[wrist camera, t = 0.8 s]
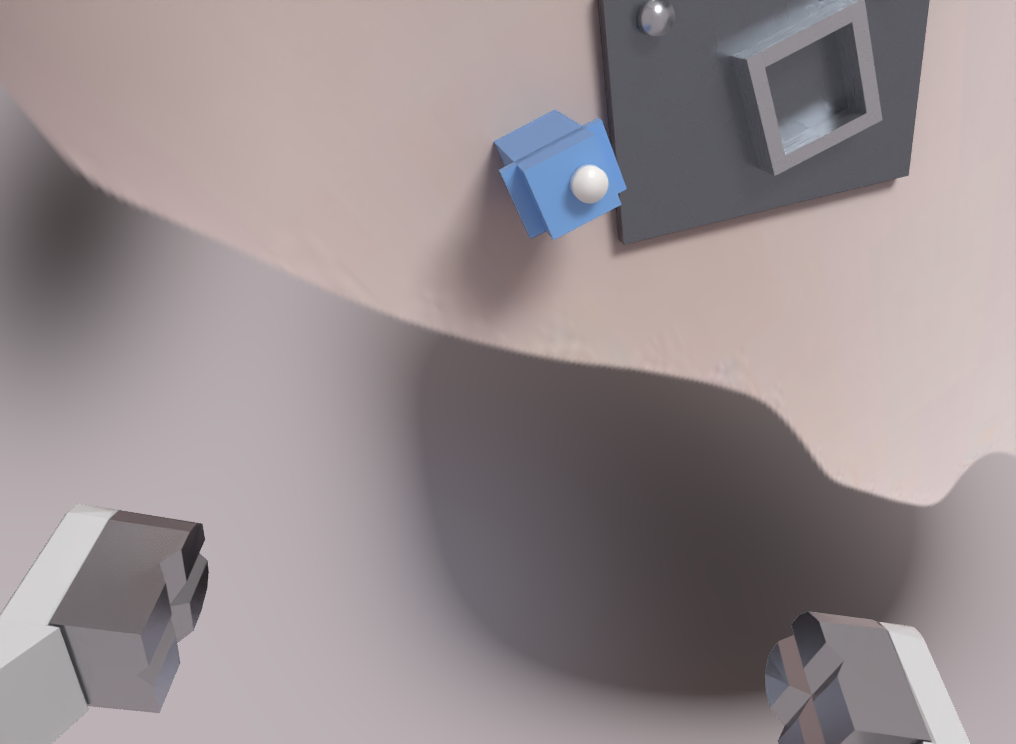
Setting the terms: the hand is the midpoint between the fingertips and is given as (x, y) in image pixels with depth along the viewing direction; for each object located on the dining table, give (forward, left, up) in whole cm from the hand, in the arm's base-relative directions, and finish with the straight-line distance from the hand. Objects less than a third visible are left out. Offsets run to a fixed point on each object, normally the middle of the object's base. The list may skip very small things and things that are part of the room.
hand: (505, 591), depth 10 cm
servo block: (+5, +10, -40) cm, 42 cm away
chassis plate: (+4, +26, -40) cm, 48 cm away
